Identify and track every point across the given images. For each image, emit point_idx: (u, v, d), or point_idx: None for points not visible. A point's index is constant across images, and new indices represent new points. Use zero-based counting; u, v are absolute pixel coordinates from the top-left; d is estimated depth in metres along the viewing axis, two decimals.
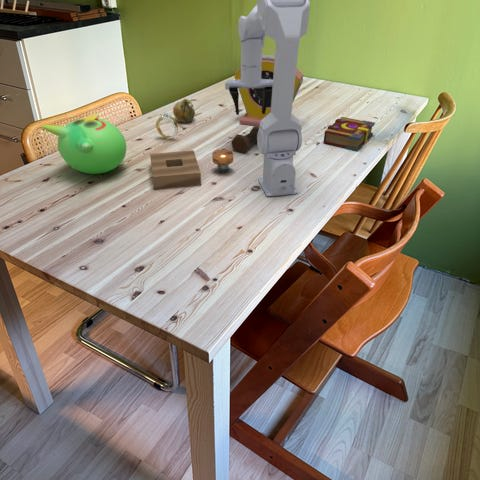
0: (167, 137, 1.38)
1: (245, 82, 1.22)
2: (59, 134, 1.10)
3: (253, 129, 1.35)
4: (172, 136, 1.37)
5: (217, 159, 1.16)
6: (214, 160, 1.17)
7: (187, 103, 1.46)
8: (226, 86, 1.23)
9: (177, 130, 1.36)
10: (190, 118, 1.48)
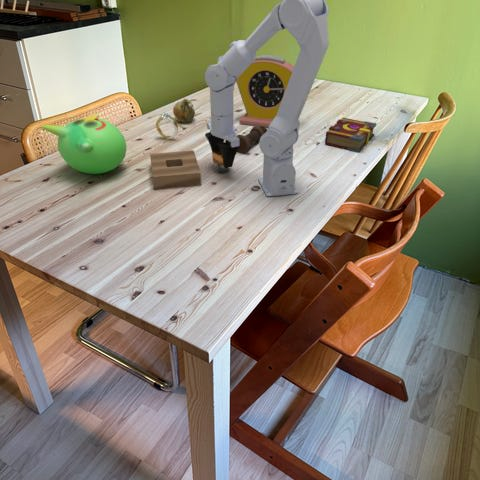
0: (167, 137, 1.38)
1: None
2: (59, 134, 1.10)
3: (253, 129, 1.35)
4: (172, 136, 1.37)
5: (217, 159, 1.16)
6: (214, 160, 1.17)
7: (187, 103, 1.46)
8: (207, 125, 1.19)
9: (177, 130, 1.36)
10: (190, 118, 1.48)
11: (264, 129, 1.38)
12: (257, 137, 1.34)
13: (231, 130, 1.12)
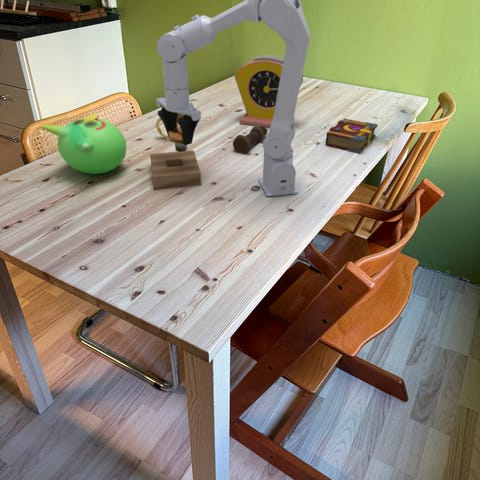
0: (167, 137, 1.38)
1: (165, 104, 1.07)
2: (59, 134, 1.10)
3: (253, 129, 1.35)
4: None
5: (176, 136, 1.10)
6: (172, 138, 1.11)
7: None
8: (157, 103, 1.12)
9: None
10: None
11: (264, 129, 1.38)
12: (257, 137, 1.34)
13: (188, 104, 1.07)
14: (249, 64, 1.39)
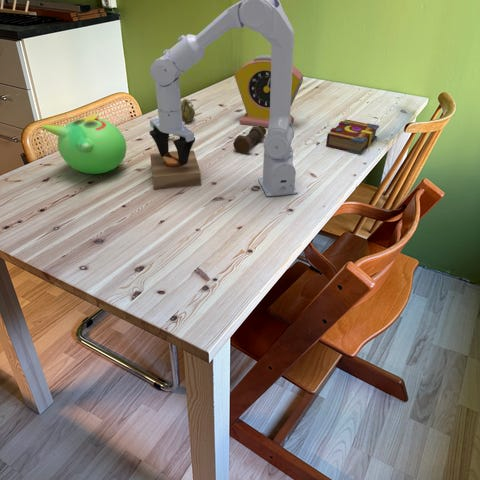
0: None
1: (159, 125, 1.10)
2: (59, 134, 1.10)
3: (252, 129, 1.35)
4: (172, 136, 1.37)
5: (171, 161, 1.13)
6: (167, 163, 1.14)
7: (187, 103, 1.46)
8: (150, 124, 1.14)
9: None
10: (190, 118, 1.48)
11: (263, 129, 1.38)
12: (257, 137, 1.34)
13: (181, 125, 1.10)
14: (249, 64, 1.39)
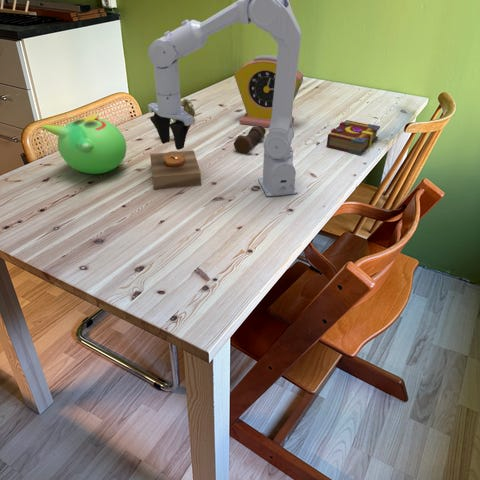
0: None
1: (157, 109, 1.08)
2: (59, 134, 1.10)
3: (252, 129, 1.35)
4: (172, 136, 1.37)
5: (171, 161, 1.13)
6: (167, 163, 1.14)
7: (187, 103, 1.46)
8: (149, 108, 1.12)
9: None
10: None
11: (263, 129, 1.38)
12: (257, 137, 1.34)
13: (180, 109, 1.07)
14: (249, 64, 1.39)
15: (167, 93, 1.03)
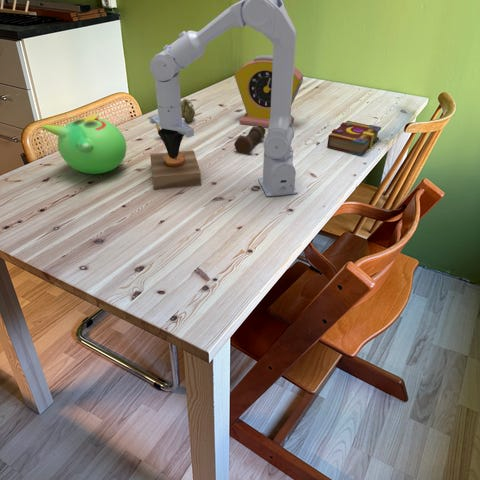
0: None
1: (159, 121, 1.09)
2: (59, 134, 1.10)
3: (252, 129, 1.35)
4: None
5: (171, 161, 1.13)
6: (167, 163, 1.14)
7: (187, 103, 1.46)
8: (150, 120, 1.14)
9: None
10: (190, 118, 1.48)
11: (262, 129, 1.38)
12: (257, 137, 1.34)
13: (181, 121, 1.09)
14: (249, 64, 1.39)
15: (168, 106, 1.05)
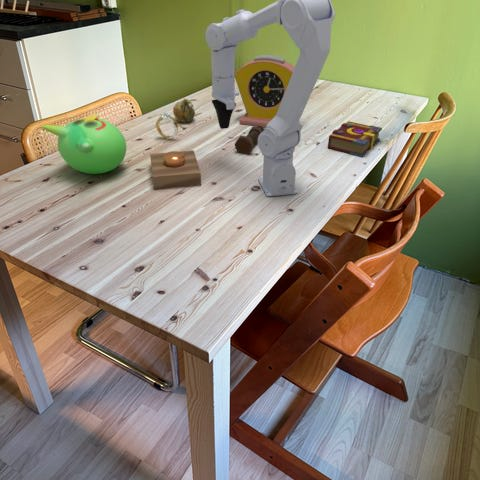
0: (167, 137, 1.38)
1: None
2: (59, 134, 1.10)
3: (252, 129, 1.35)
4: (172, 136, 1.37)
5: (171, 161, 1.13)
6: (167, 163, 1.14)
7: (187, 103, 1.46)
8: None
9: (177, 130, 1.36)
10: (190, 118, 1.48)
11: (262, 129, 1.38)
12: (257, 137, 1.34)
13: (231, 93, 1.11)
14: (249, 64, 1.39)
15: (217, 75, 1.08)
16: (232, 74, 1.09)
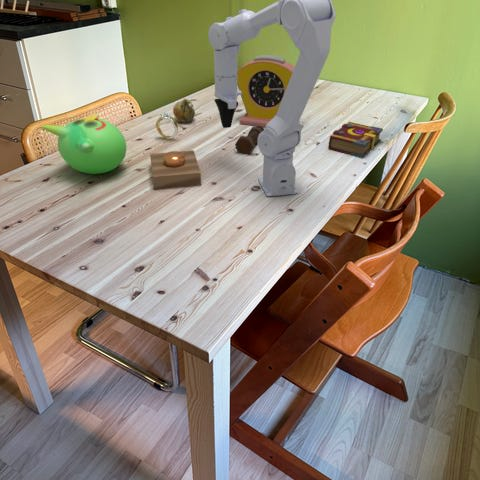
0: (167, 137, 1.38)
1: None
2: (59, 134, 1.10)
3: (252, 129, 1.35)
4: (172, 136, 1.37)
5: (171, 161, 1.13)
6: (167, 163, 1.14)
7: (187, 103, 1.46)
8: None
9: (177, 130, 1.36)
10: (190, 118, 1.48)
11: (262, 129, 1.38)
12: (257, 137, 1.34)
13: (233, 93, 1.12)
14: (249, 64, 1.39)
15: (220, 75, 1.09)
16: (234, 73, 1.09)
